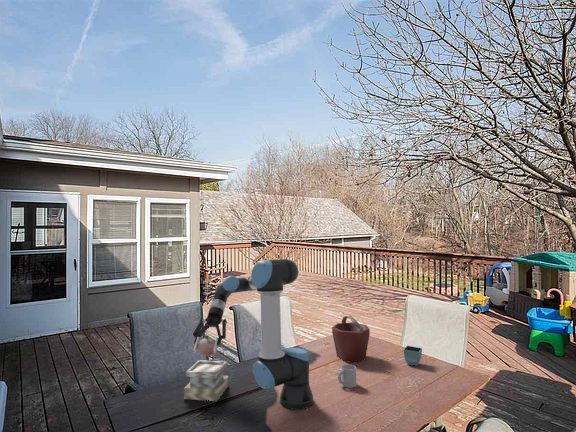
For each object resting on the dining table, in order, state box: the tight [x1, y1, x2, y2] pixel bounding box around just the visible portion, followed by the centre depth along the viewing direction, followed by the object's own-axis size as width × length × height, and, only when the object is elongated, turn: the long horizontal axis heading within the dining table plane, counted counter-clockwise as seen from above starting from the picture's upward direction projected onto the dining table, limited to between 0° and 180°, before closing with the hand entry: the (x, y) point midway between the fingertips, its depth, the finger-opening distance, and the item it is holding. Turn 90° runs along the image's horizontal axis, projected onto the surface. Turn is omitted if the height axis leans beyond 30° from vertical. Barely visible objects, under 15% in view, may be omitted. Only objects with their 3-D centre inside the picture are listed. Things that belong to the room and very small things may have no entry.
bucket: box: [331, 315, 371, 363], centre depth 213 cm, size 24×22×25 cm
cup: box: [337, 363, 357, 389], centre depth 173 cm, size 7×10×9 cm
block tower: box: [183, 359, 229, 402], centre depth 166 cm, size 16×16×12 cm
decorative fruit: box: [197, 335, 216, 357], centre depth 168 cm, size 9×8×10 cm
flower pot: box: [403, 345, 423, 367], centre depth 201 cm, size 9×9×9 cm
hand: (204, 351), depth 164 cm, fingers closed on decorative fruit, 9 cm apart
